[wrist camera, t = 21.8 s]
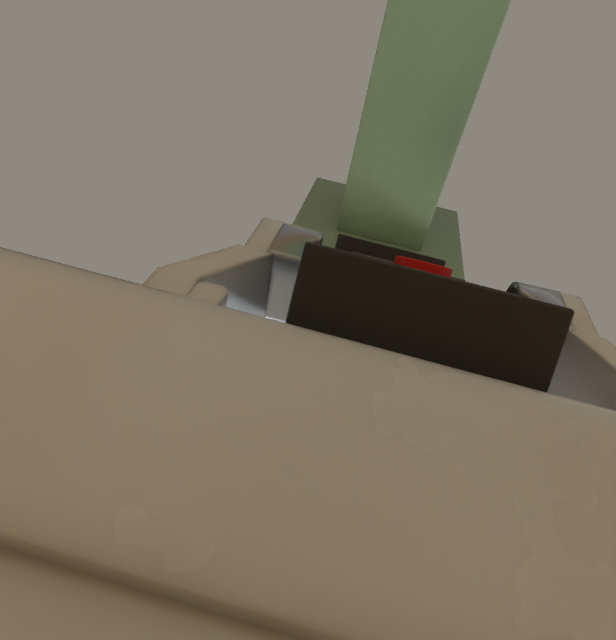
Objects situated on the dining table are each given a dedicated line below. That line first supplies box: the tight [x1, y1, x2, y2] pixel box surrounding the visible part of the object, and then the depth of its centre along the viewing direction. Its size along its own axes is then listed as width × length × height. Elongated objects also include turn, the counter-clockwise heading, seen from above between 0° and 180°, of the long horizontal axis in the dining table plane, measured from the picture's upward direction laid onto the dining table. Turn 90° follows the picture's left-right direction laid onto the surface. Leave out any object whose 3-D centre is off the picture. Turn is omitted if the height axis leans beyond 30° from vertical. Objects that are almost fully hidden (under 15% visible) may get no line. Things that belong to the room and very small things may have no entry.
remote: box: [285, 234, 574, 393], centre depth 17 cm, size 19×5×3 cm
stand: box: [292, 0, 511, 280], centre depth 28 cm, size 11×12×26 cm
